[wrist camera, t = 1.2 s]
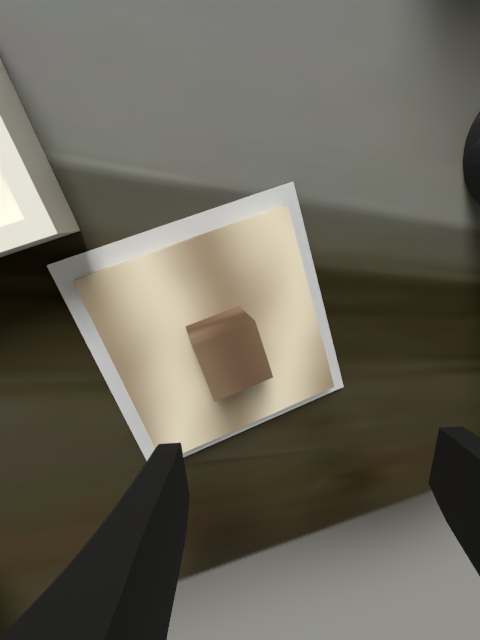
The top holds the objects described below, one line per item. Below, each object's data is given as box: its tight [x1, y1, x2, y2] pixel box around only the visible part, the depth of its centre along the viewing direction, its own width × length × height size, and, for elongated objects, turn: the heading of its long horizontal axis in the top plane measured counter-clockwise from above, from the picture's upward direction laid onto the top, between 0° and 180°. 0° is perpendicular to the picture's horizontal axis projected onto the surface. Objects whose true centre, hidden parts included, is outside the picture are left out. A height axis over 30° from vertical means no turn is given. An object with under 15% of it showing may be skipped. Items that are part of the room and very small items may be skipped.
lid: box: [73, 206, 334, 453], centre depth 18 cm, size 11×11×4 cm
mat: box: [47, 182, 344, 461], centre depth 20 cm, size 13×13×1 cm
